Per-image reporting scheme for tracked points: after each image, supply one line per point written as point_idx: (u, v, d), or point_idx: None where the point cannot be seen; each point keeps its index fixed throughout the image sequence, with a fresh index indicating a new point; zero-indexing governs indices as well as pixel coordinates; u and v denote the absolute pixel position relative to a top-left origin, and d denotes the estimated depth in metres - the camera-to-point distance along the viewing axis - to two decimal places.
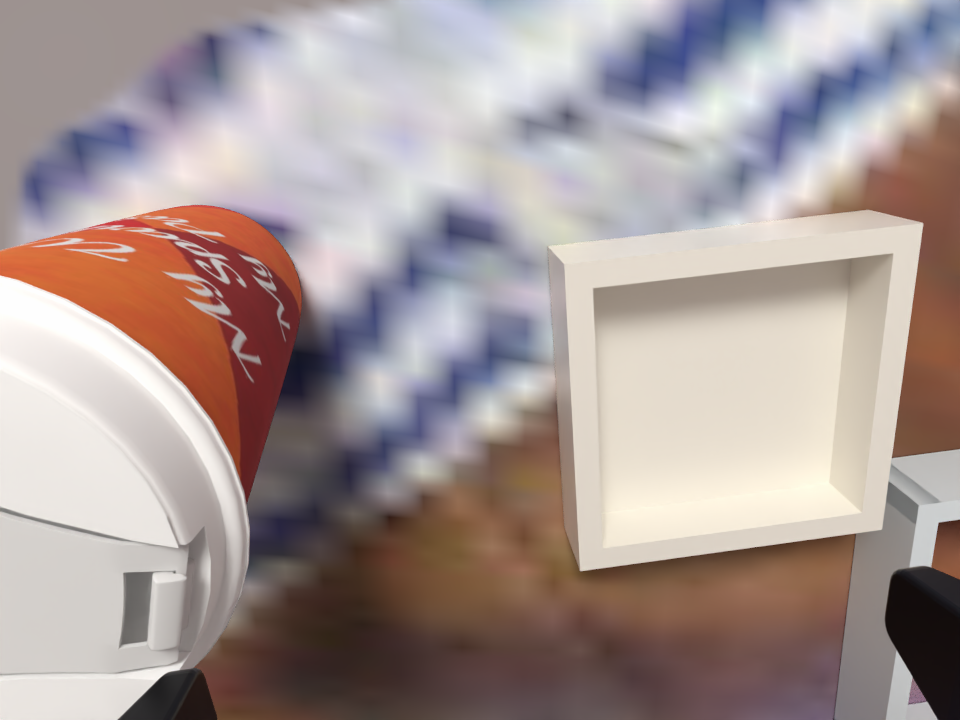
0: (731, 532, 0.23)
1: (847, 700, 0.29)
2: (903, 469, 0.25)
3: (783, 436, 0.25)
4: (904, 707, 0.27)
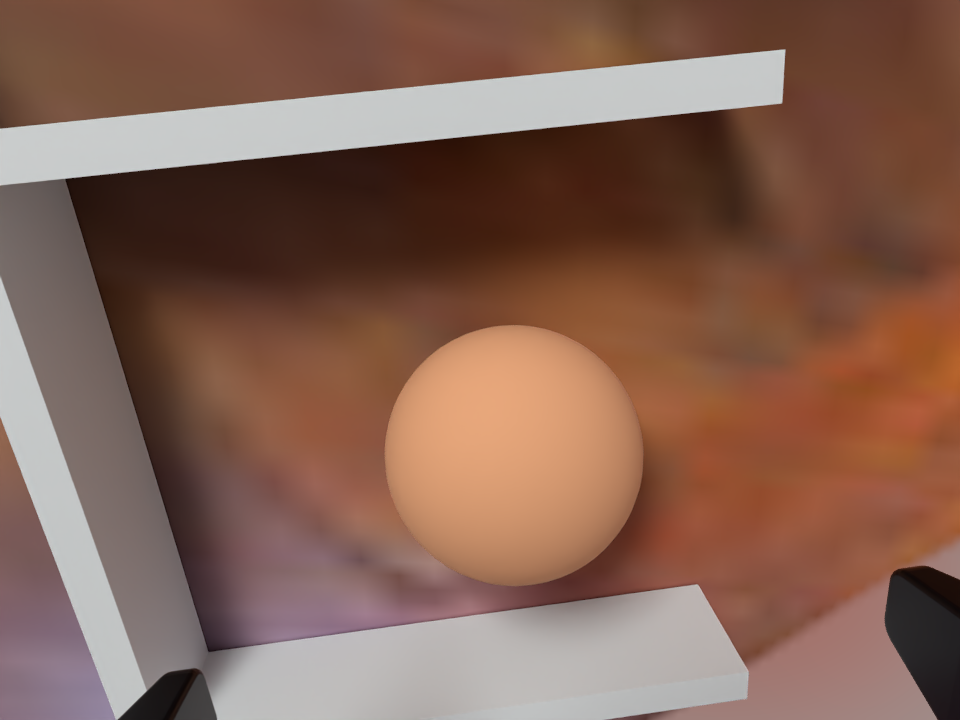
0: None
1: None
2: None
3: None
4: (117, 622, 0.14)
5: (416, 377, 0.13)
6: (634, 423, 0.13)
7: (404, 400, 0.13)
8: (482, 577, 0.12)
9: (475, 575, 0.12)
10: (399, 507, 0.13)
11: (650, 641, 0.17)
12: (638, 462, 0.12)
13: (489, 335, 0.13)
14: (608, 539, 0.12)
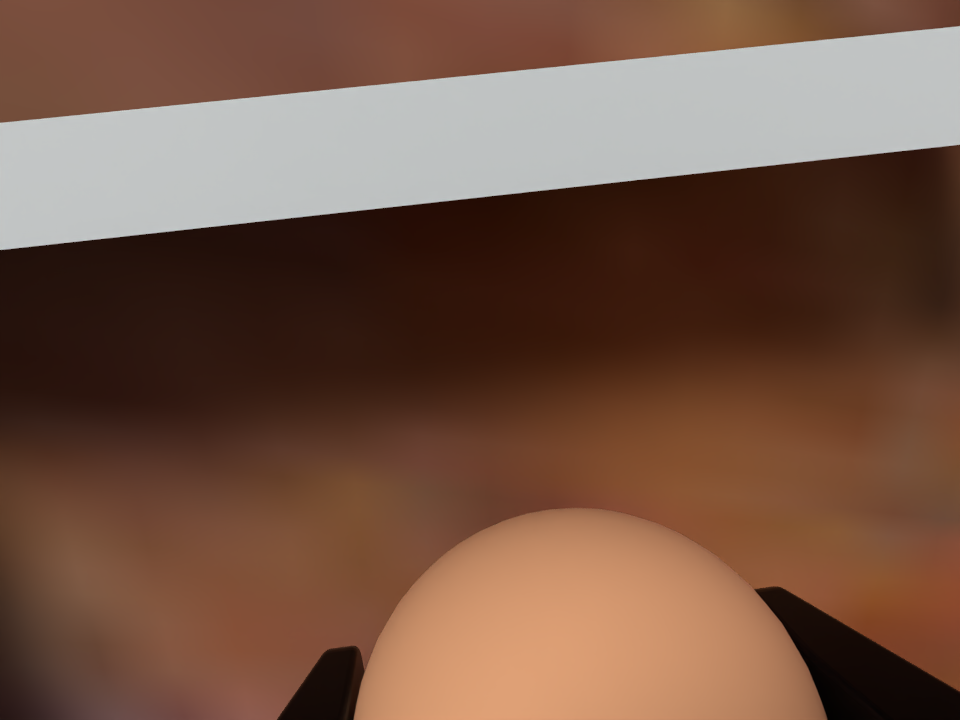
0: None
1: None
2: None
3: None
4: None
5: (409, 636, 0.07)
6: None
7: (384, 684, 0.07)
8: None
9: None
10: None
11: None
12: None
13: (545, 558, 0.07)
14: None
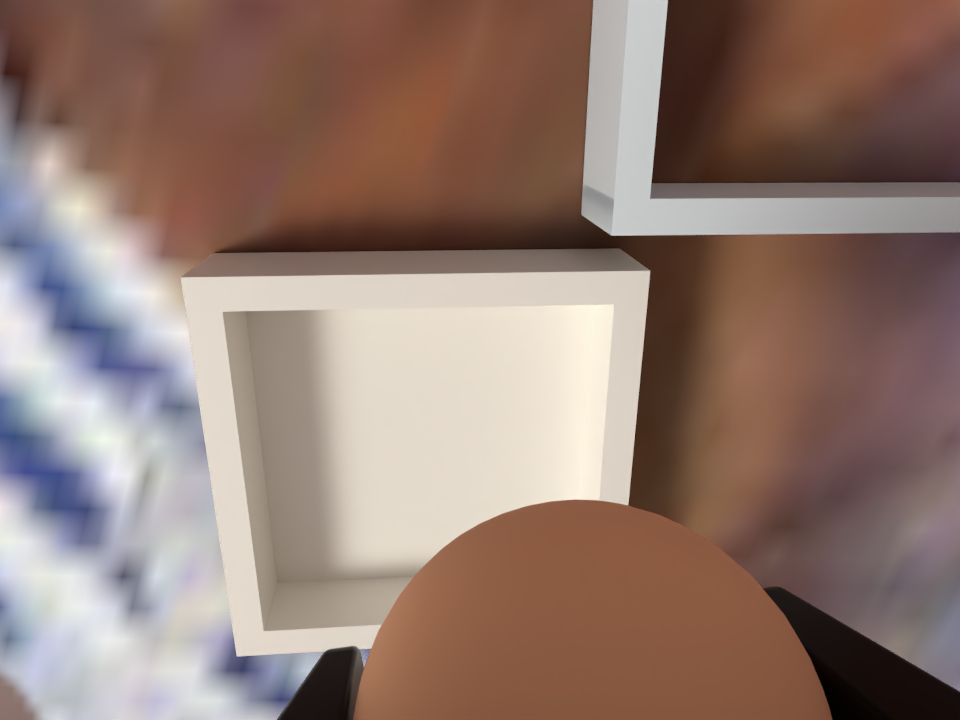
0: (603, 474, 0.18)
1: None
2: (591, 181, 0.17)
3: (509, 352, 0.19)
4: None
5: (409, 627, 0.07)
6: None
7: (385, 676, 0.07)
8: None
9: None
10: None
11: None
12: None
13: (547, 548, 0.07)
14: None
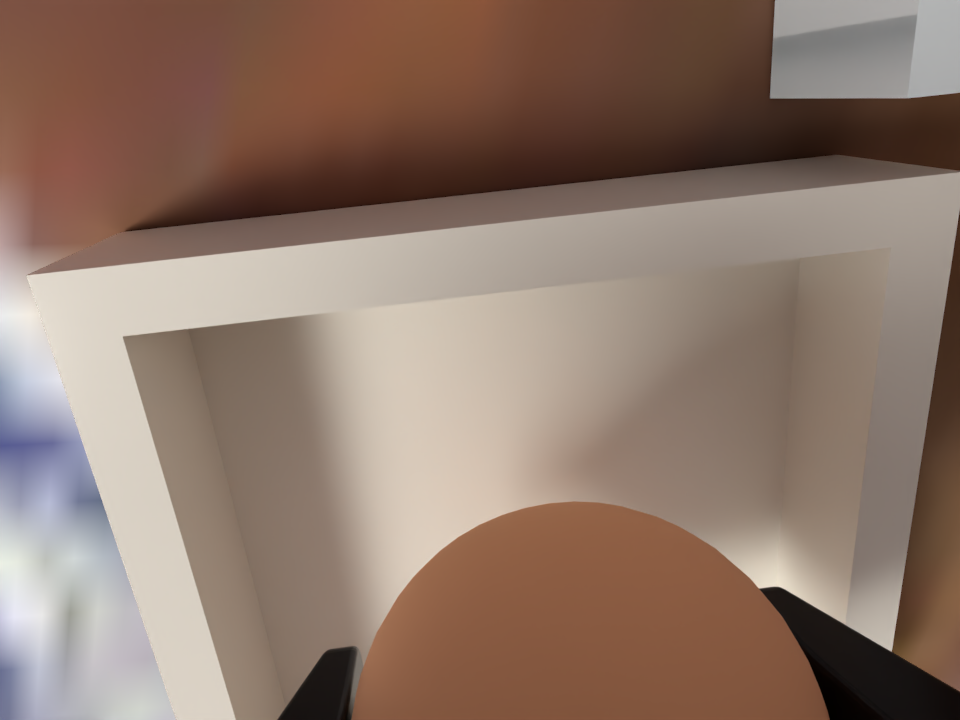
0: (856, 562, 0.10)
1: None
2: (805, 21, 0.09)
3: (657, 357, 0.11)
4: None
5: (408, 631, 0.07)
6: None
7: (383, 678, 0.07)
8: None
9: None
10: None
11: None
12: None
13: (545, 552, 0.07)
14: None
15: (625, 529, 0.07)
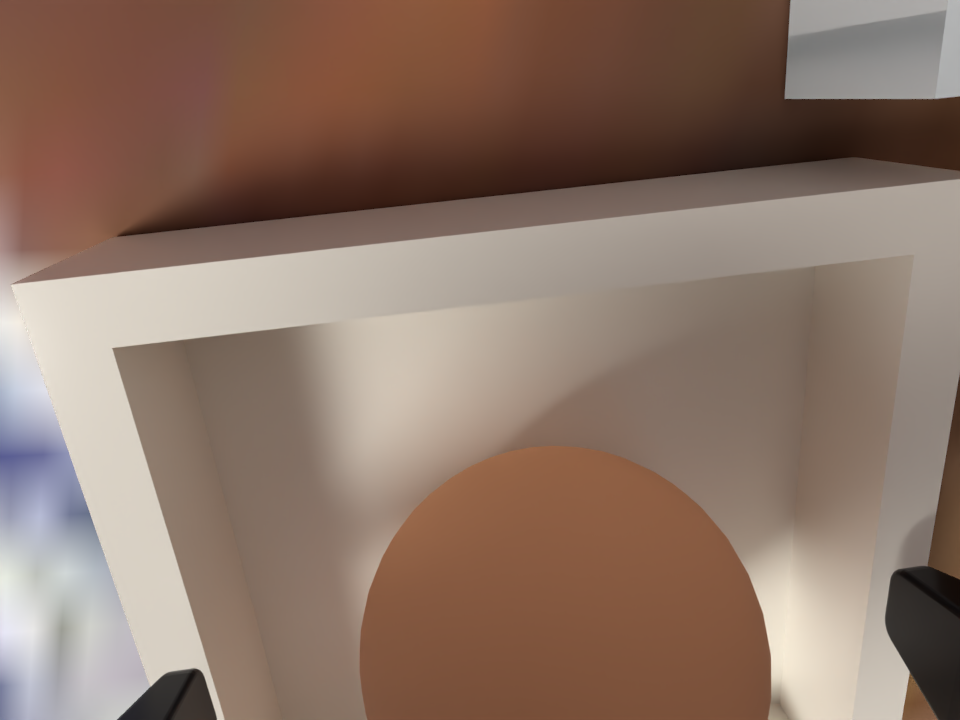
0: (875, 580, 0.10)
1: None
2: (823, 18, 0.09)
3: (667, 366, 0.10)
4: None
5: (409, 544, 0.08)
6: (761, 622, 0.08)
7: (389, 584, 0.08)
8: None
9: None
10: None
11: None
12: (770, 689, 0.08)
13: (524, 477, 0.08)
14: None
15: (593, 462, 0.08)
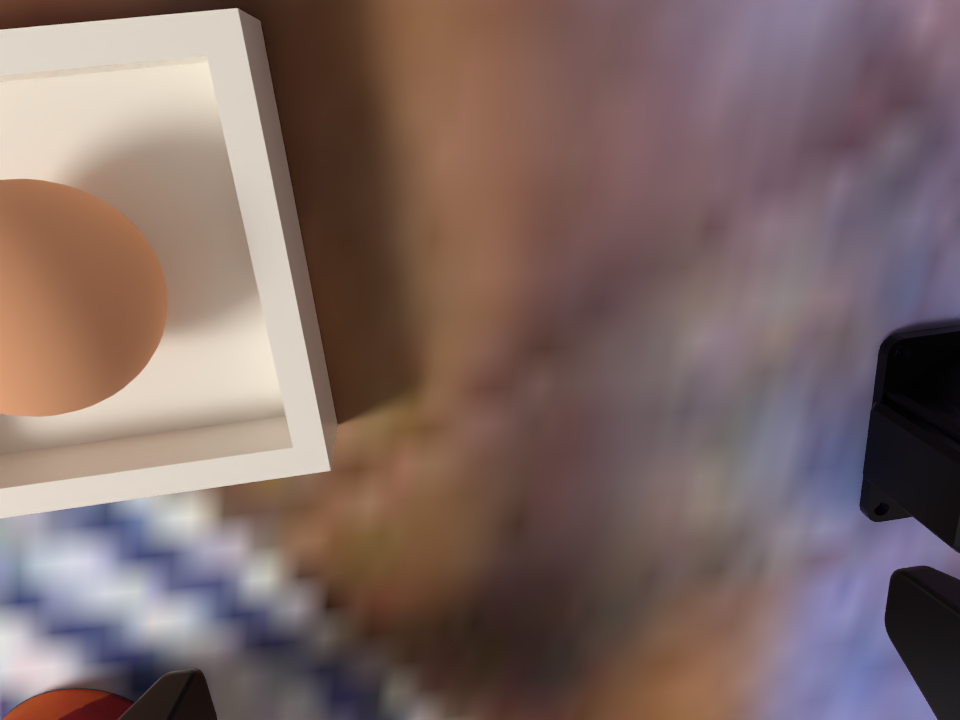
0: (257, 275, 0.16)
1: None
2: None
3: (152, 155, 0.16)
4: None
5: None
6: (117, 259, 0.14)
7: None
8: None
9: None
10: None
11: None
12: (118, 293, 0.14)
13: None
14: (89, 362, 0.14)
15: (37, 180, 0.14)
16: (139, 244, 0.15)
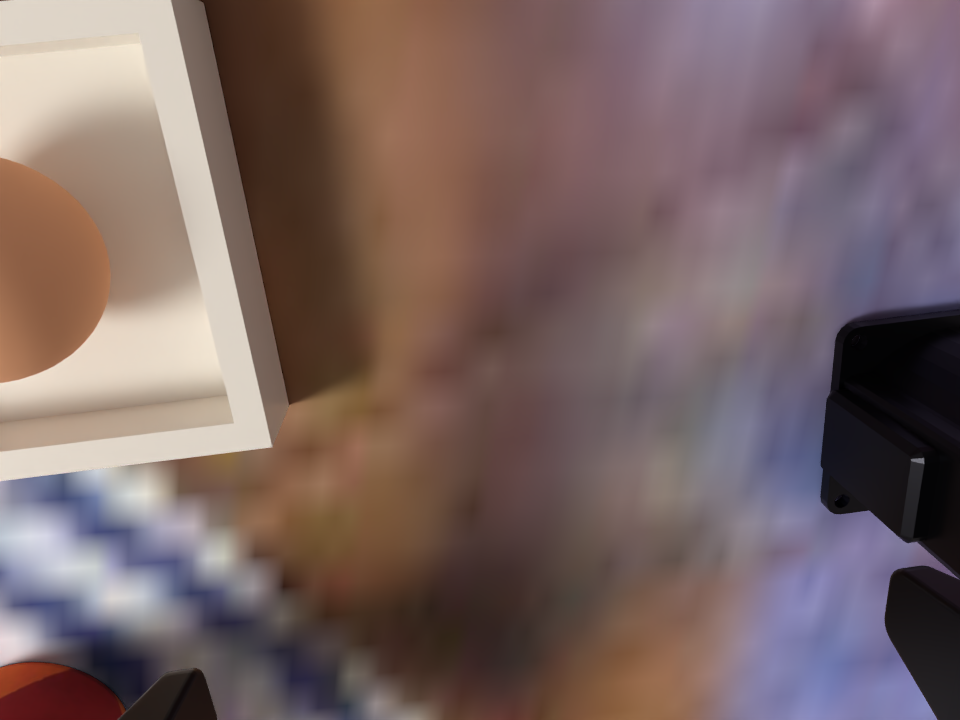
0: (194, 251, 0.16)
1: None
2: None
3: (98, 134, 0.17)
4: None
5: None
6: (52, 229, 0.14)
7: None
8: None
9: None
10: None
11: None
12: (52, 262, 0.14)
13: None
14: (23, 329, 0.14)
15: None
16: (78, 217, 0.15)
